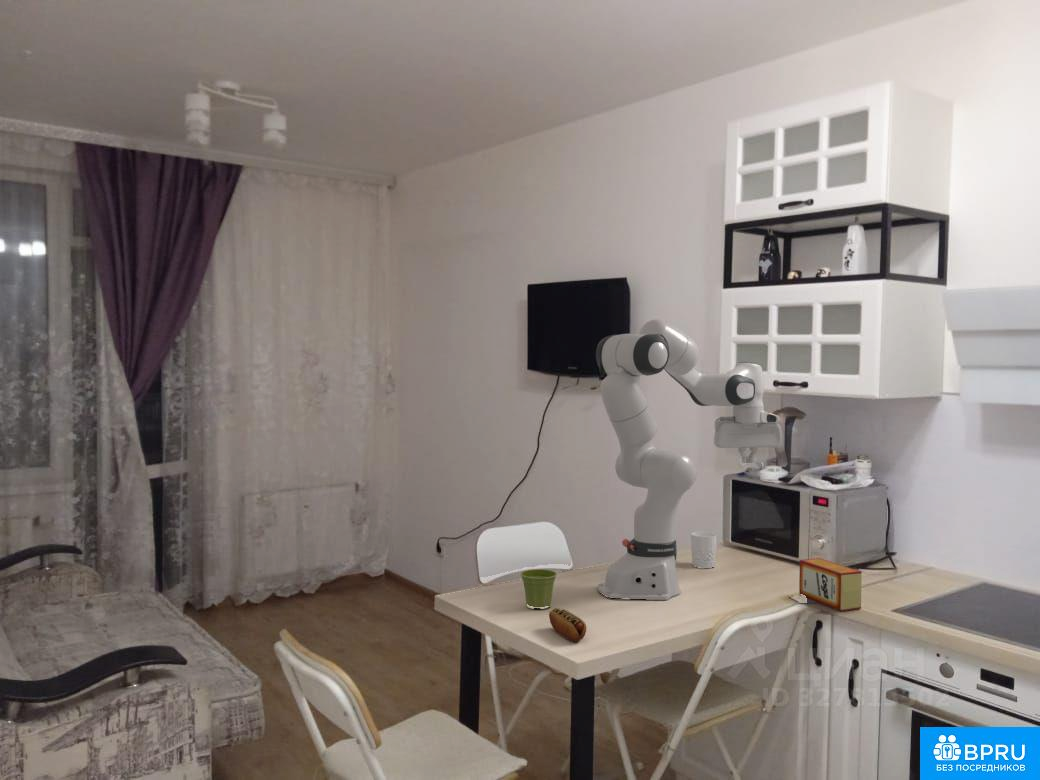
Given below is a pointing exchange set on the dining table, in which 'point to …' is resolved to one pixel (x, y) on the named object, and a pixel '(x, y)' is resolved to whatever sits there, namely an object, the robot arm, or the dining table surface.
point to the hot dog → (567, 624)
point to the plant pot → (538, 586)
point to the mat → (811, 601)
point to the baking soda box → (830, 584)
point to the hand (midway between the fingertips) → (747, 462)
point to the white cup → (703, 549)
